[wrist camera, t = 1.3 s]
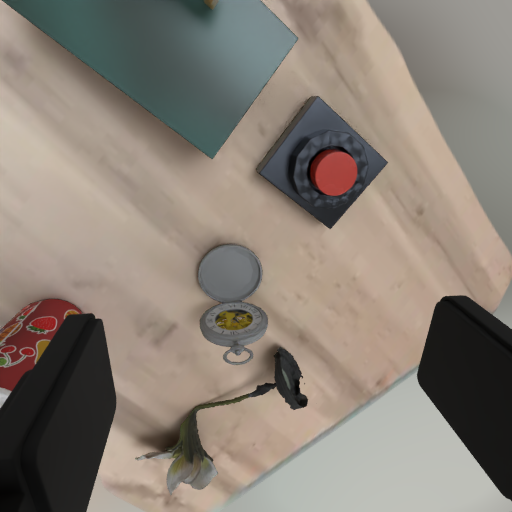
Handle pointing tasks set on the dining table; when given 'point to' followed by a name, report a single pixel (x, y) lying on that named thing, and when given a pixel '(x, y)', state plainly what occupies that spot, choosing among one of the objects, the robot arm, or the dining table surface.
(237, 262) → the pocket watch
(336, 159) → the alarm button
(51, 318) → the smoothie
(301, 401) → the artificial flower
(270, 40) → the green panel
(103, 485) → the dining table surface
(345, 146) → the base
